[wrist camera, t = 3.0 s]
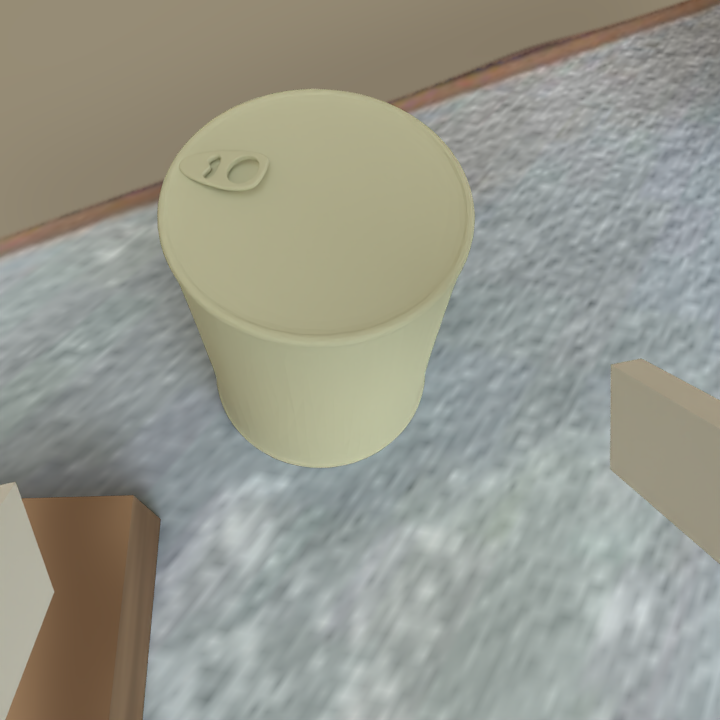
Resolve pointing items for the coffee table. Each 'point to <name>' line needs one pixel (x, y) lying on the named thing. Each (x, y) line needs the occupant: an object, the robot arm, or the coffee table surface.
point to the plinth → (91, 609)
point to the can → (317, 265)
